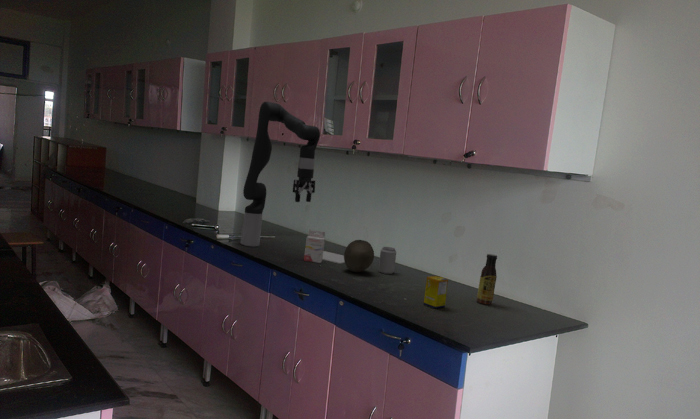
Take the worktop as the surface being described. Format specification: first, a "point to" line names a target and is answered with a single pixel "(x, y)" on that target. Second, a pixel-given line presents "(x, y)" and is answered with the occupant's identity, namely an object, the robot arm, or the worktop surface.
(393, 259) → the can
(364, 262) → the cantaloupe
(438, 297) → the supplement box
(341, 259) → the mat
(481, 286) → the sauce bottle
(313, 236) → the ink cartridge box
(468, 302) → the worktop surface
